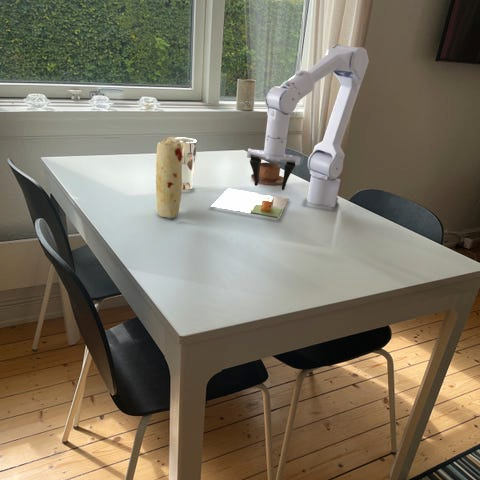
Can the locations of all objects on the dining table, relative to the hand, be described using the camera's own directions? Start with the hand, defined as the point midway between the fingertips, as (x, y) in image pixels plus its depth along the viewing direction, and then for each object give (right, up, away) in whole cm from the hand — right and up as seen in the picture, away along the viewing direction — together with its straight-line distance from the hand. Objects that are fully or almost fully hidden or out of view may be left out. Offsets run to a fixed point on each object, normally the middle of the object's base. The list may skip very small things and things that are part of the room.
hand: (269, 187), depth 136 cm
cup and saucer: (+1, +10, +32) cm, 34 cm away
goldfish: (-1, -6, +3) cm, 7 cm away
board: (-5, -3, +9) cm, 11 cm away
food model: (-28, -9, -5) cm, 30 cm away
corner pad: (-1, -6, +3) cm, 7 cm away
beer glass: (-26, +3, +16) cm, 31 cm away
